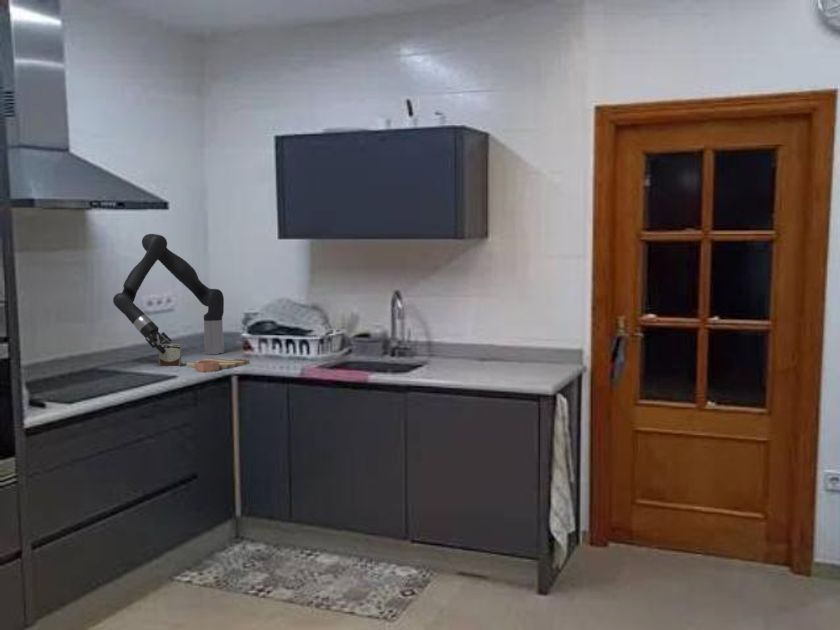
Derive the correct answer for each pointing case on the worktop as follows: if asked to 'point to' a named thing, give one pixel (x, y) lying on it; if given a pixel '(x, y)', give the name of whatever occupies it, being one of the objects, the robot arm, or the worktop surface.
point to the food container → (170, 355)
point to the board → (224, 362)
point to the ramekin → (207, 366)
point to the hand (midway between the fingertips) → (169, 351)
